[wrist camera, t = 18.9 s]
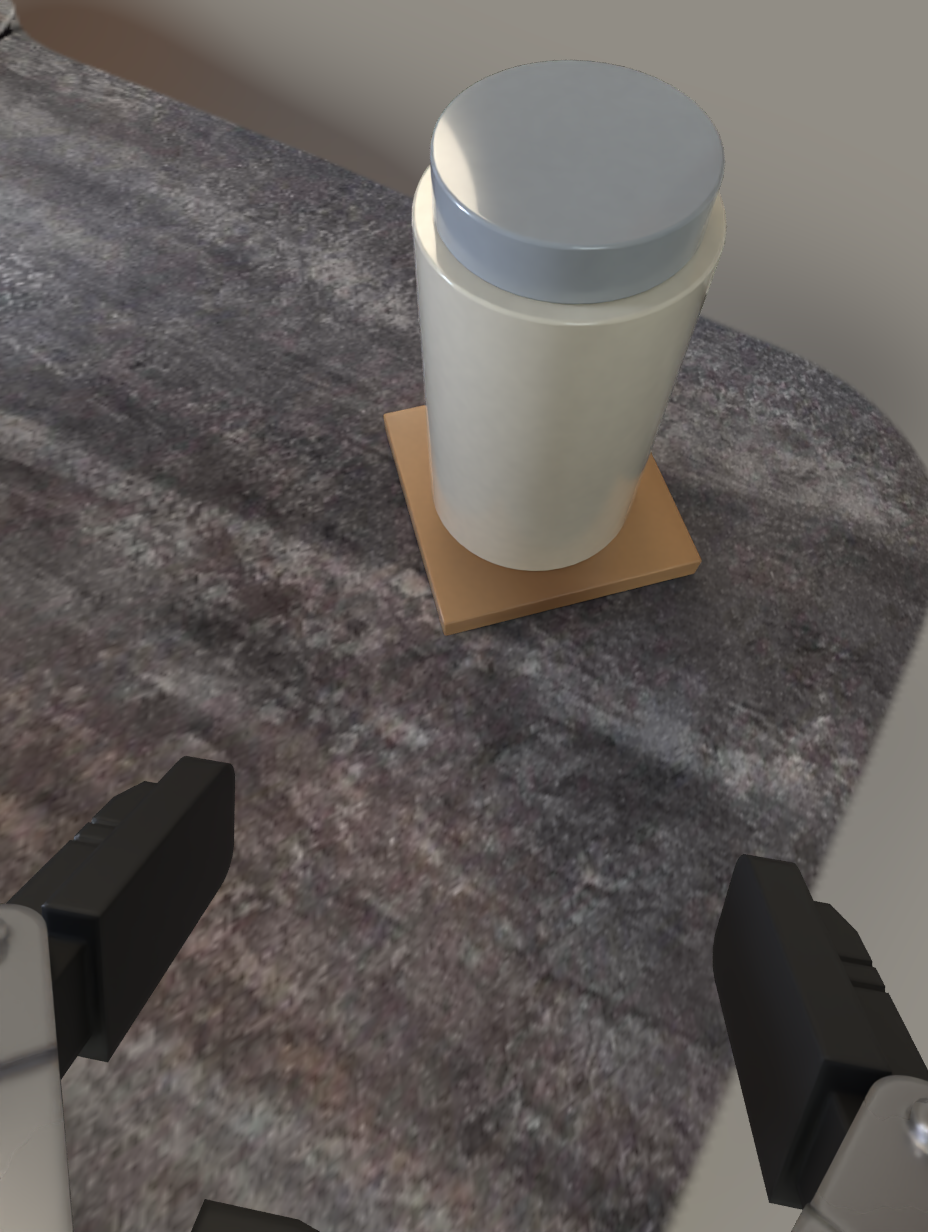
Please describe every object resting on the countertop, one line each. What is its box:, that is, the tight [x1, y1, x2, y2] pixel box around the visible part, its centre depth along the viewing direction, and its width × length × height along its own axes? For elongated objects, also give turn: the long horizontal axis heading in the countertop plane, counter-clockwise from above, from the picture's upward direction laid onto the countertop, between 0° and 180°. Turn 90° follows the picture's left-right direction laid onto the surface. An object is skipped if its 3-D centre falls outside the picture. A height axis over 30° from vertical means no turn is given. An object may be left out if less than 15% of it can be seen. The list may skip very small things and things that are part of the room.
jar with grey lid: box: [412, 60, 727, 571], centre depth 18 cm, size 6×6×10 cm
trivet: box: [383, 405, 701, 636], centre depth 23 cm, size 8×8×1 cm
